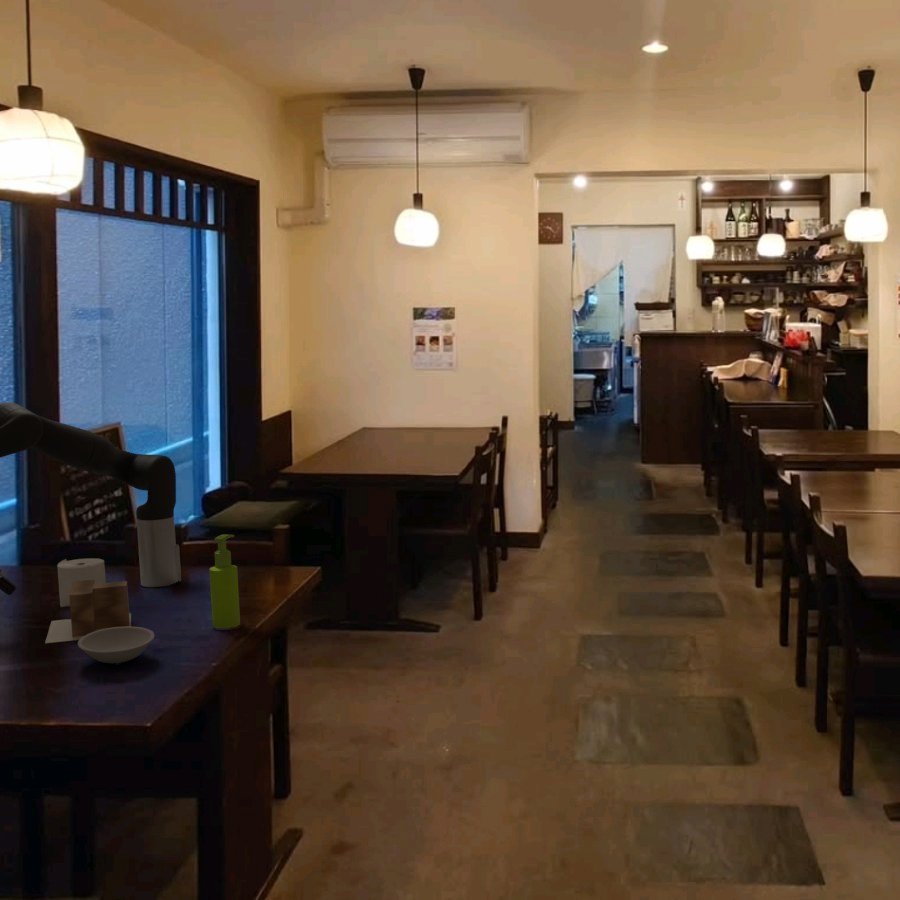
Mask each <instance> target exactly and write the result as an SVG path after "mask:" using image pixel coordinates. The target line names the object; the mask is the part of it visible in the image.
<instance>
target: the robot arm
mask: <svg viewBox="0 0 900 900" xmlns="http://www.w3.org/2000/svg"><path fill="white" fill-rule="evenodd" d="M31 448H33V449H36V450H38V451H40V452H41V453H43V454H45V455H47V456H49V457H51V458H53V459H54V460H56V461H58V462H60V463H62V464H65V465H68V466H70V467H72V468H75V469H79V470H81V471H85V472H88V473H93V474H94V475H95V474H96V475H100V476H106V477H110V478H112V479H116V480H117V481H119V482H121V483H124V484H126V485H128V486H130V487H131V488H134V489H137V490H138V491H139V490H140V491H146V492H147V499H146V502H145V503H143V504H141V505H139V506H137V508H136V511H135V513H136V514H135V516H136V529H137V543H138V558H139V572H140V574H139V575H140V578H139V579H140V585H141V586H142V587H147V588H159V587H168V586H172V585H174V583H175V584H177V583H179V582H182V572H181V568H182V567H181V558H180V557H181V556H180V555H181V554H180V553H181V552H180V546H179V544H176V529H175V527H176V526H175V507H176V504H177V473H176V468H175V464H174V462H173V461H172V459H171V458H170V457H168V456H167V455H162V454H147V453H144V454H143V453H135V452H130V451H128V450H127V451H126V450H122V449H120V448H117V446H115V445H114V444H113V443H112V442H111V440H109V439H107V438H106V437H105V436H102V435H100V434H98V433H95V432H93V431H92V432H91V431H90V430H87V429H84V428H80V427H77V426H74V425H70V424H68V423H67V424H66V423H62V422H58V421H54V420H51V419H48V418H45V417H43V416H41V415H38V414H36V413H34V412H32V411H31V410H29V409H27V408H26V407H23V406H21V405H20V404H18V403H14V402H2V403H0V458H1V459H2V458H4V457H7V456H10V455H14V454H18V453H21V452H25V451H26V450H29V449H31ZM178 581H179V582H178ZM176 582H177V583H176ZM171 584H172V585H171ZM0 590H1V591H2V592H4V593H5V594H6V595H8V596H11V595H12V594H13V593H14V592H15V591H16V590H17V585H16V584H15V583H14V582H12V581H11V580H10V579H8V578H7V577H5V576H4V574H3V573H2V569H0Z"/></svg>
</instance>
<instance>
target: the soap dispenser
mask: <svg viewBox="0 0 900 900" xmlns="http://www.w3.org/2000/svg"><path fill="white" fill-rule="evenodd" d="M235 536H236V535H235V534H220V535H218V536H216V537H214V542H217V550H216V551H214V566H212V567H210V568H209V584H210V585H209V586H210V599H211V601H210V602H211V615H212V617H211V618H212V619H211V620H212V627H213V626H214V627H217V628H230V627H236V626H238V625H240V626H241V615H240V614H241V612H240V611H241V610H240V596H239V595H240V593H239V577H238V574H239V573H238V566H237V565H235V564H234V565H233V564H232V554H231V550H229V549H227V540H228V539H230V538H235Z"/></svg>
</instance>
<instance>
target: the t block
mask: <svg viewBox="0 0 900 900" xmlns="http://www.w3.org/2000/svg"><path fill="white" fill-rule="evenodd" d="M128 591H129V588H128V580H124V581H111V582H106V583H99V584H95V582H94V580H86V581H74V582H73V583H72V587H71V591H70V595H69V598H70V606H69V609H70V619H71V625H72V637H79V636H85V635H87V634H89V633H92V632H95V630H96V629H106V628H113V627H125V626H130V618H129V613H130V606H129V605H130V604H129V603H130V602H129V592H128Z"/></svg>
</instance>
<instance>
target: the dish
mask: <svg viewBox="0 0 900 900" xmlns="http://www.w3.org/2000/svg"><path fill="white" fill-rule="evenodd" d="M155 637H156V636H155V633H154V631H153V630H150V629H148V628H145V627H140V626H132V625H131V626H125V627H113V628H107V629H102V630H98V631H95V632H92V633H89V634H87V635H85V636H83V637H82V638H81V639H80V640H77V647H78V648H79V649H80V650H82V651H84V652H85V653H86V654H87V656H89V657H90V658H92V659H93V660H95V661H97V662H99V663H104V664H114V663H121V662H123V663H124V662H125V663H126V662H128V661H132V660H133V659H135V658H137V657H138V656H140V655H141V654H142V653H143V652H144V651H145V650H146V649H147V648H148V646H149V645H150V643H152V642H153V641H154V639H155Z"/></svg>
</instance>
